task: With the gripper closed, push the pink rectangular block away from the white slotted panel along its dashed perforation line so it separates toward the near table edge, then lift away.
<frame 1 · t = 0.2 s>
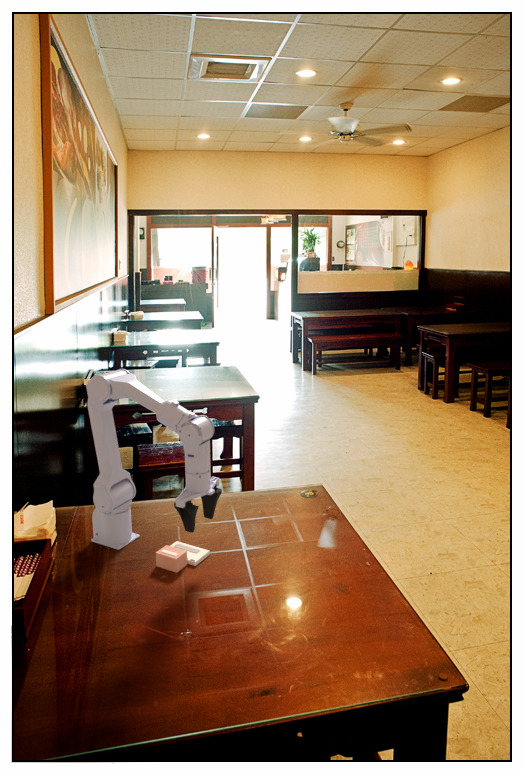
hand: (199, 524, 130), 10 cm above the table, fingers open, 7 cm apart
white slotted panel: (185, 554, 135), on the table
pink rectangular block: (171, 558, 130), point 2 cm above the table, slide at 0.0 cm
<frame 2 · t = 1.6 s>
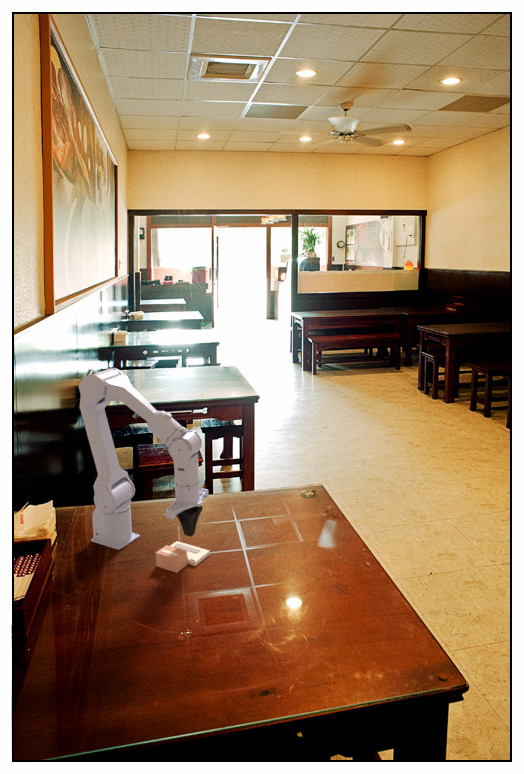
hand: (189, 534, 136), 5 cm above the table, fingers closed
nothing on the table moved.
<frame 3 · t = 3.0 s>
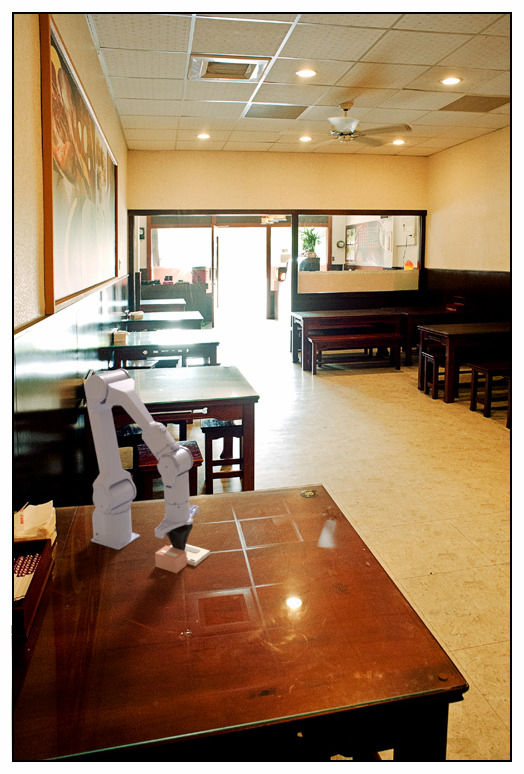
hand: (179, 552, 133), 2 cm above the table, fingers closed
pink rectangular block: (171, 558, 130), point 2 cm above the table, slide at 0.2 cm, touching gripper
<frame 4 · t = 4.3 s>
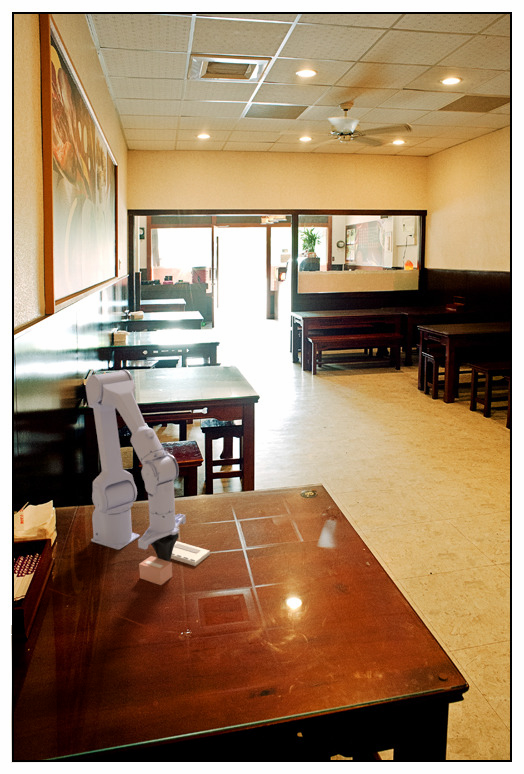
hand: (164, 563, 128), 2 cm above the table, fingers closed
pink rectangular block: (155, 570, 125), point 2 cm above the table, slide at 5.7 cm, touching gripper
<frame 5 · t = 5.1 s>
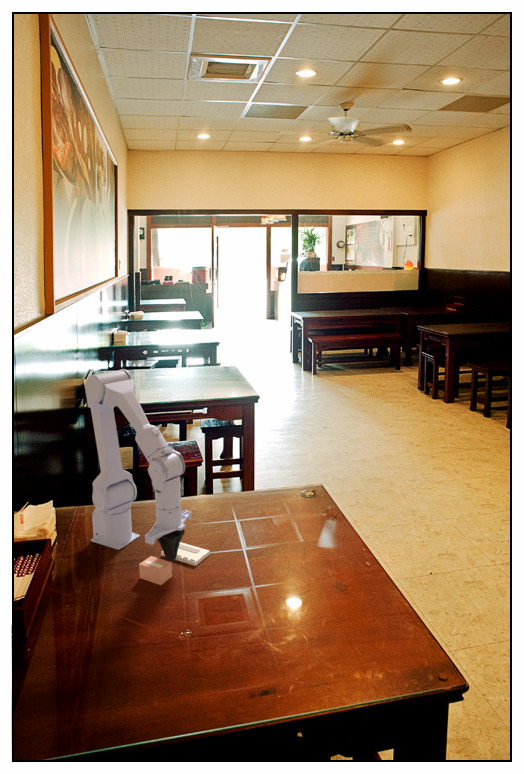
hand: (170, 559, 130), 2 cm above the table, fingers closed
pink rectangular block: (155, 570, 125), point 2 cm above the table, slide at 5.7 cm
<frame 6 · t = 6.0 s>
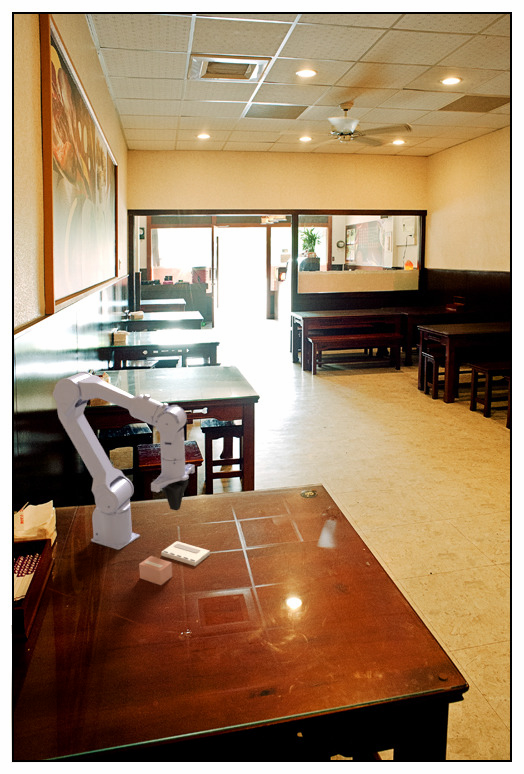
hand: (175, 508, 138), 10 cm above the table, fingers closed
nothing on the table moved.
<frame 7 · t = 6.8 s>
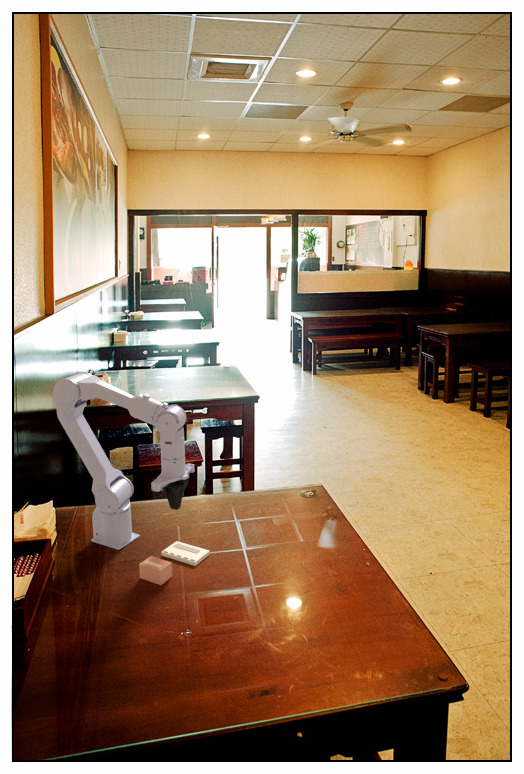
hand: (175, 508, 138), 10 cm above the table, fingers closed
nothing on the table moved.
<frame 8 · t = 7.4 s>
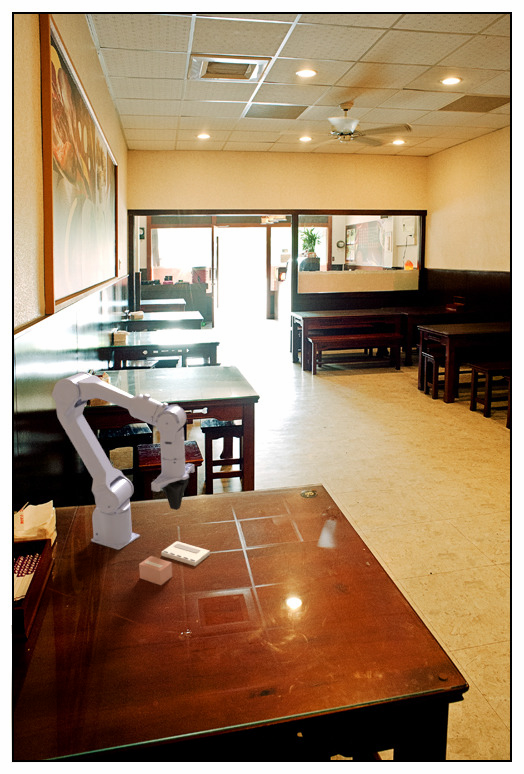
hand: (175, 508, 138), 10 cm above the table, fingers closed
nothing on the table moved.
at the end: pink rectangular block slide at 5.7 cm; pink rectangular block touching nothing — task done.
